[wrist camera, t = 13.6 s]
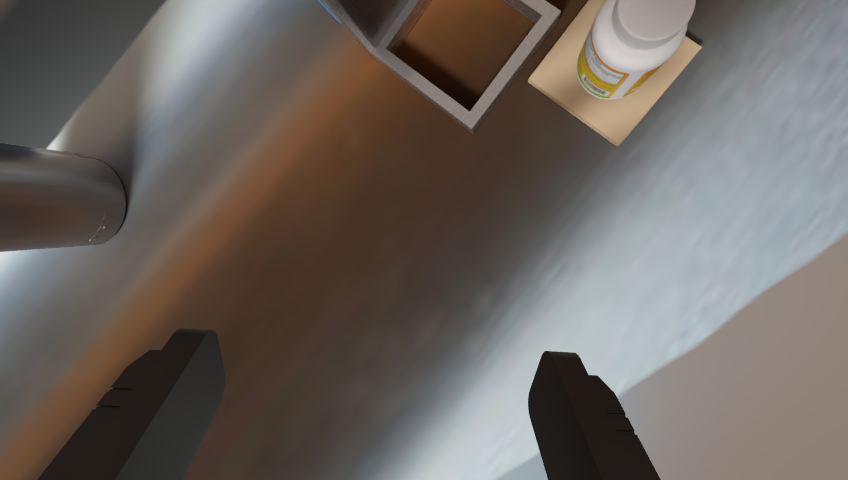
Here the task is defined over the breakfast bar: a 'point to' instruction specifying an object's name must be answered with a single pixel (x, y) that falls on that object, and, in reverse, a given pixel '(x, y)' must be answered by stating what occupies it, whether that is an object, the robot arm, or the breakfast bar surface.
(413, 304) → the breakfast bar surface
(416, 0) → the open hinged lid box
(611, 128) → the cork pad
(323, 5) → the blue and grey carton
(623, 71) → the supplement bottle
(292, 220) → the breakfast bar surface
